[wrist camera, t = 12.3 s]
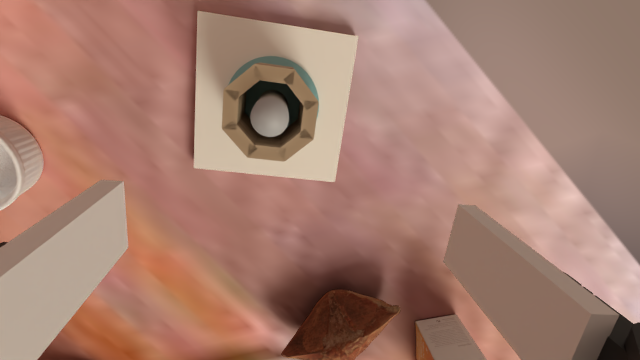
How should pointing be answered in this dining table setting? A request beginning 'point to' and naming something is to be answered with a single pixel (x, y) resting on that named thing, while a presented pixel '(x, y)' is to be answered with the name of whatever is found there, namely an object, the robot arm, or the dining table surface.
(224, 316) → the dining table surface
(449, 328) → the small box
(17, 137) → the ramekin
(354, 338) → the fossil
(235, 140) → the maple ring
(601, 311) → the robot arm
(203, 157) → the post stand
